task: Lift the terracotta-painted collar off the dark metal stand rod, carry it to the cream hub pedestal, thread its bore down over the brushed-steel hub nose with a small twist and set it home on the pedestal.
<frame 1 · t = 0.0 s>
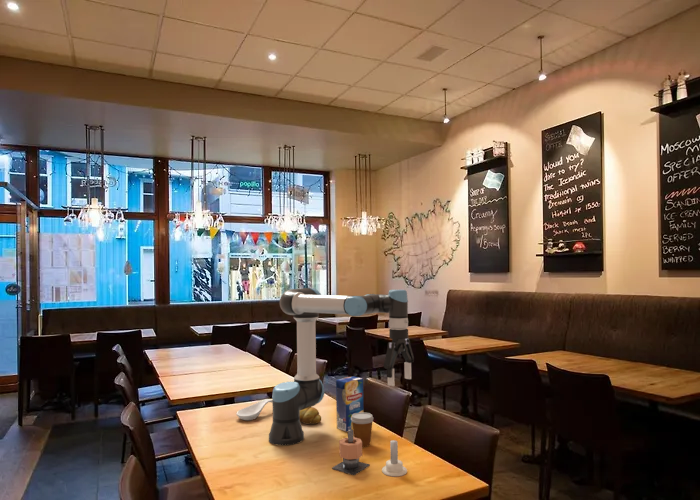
hand: (399, 382, 186), 28 cm above the table, fingers open, 13 cm apart
beverage box: (350, 427, 217), on the table
disposable coffee cup: (362, 445, 195), on the table
hub: (394, 471, 169), on the table
stand: (351, 467, 173), on the table
bread roll: (308, 422, 225), on the table
spoon rest: (258, 416, 236), on the table
collar: (350, 454, 173), point 4 cm above the table, touching stand
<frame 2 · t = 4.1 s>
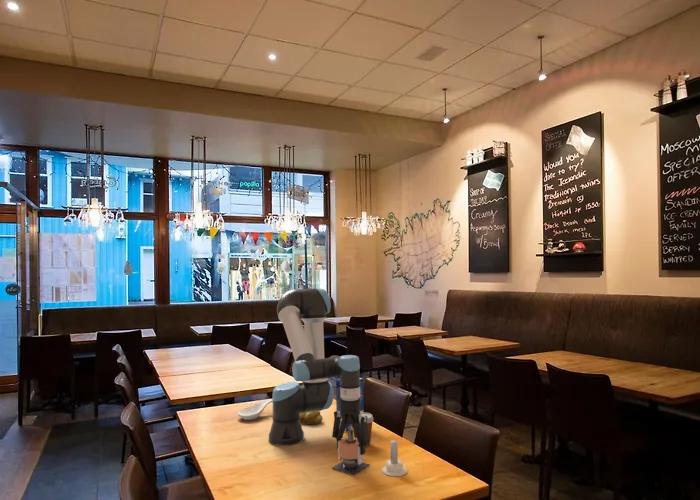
hand: (350, 460, 173), 3 cm above the table, fingers closed on collar, 8 cm apart
collar: (350, 454, 173), point 5 cm above the table, touching gripper, stand
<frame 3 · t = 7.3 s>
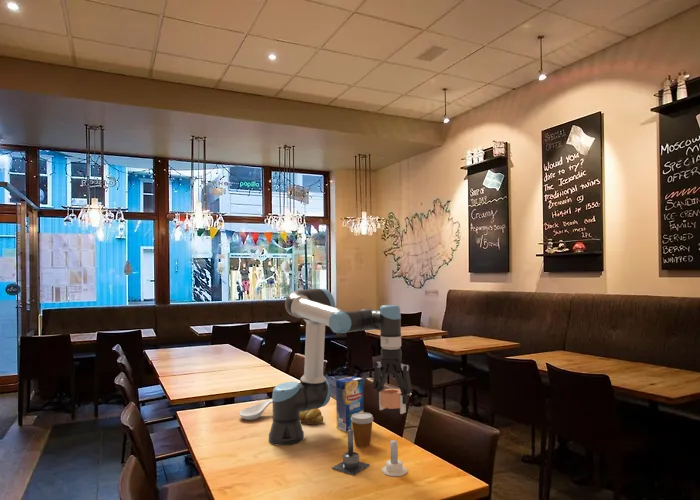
hand: (392, 410, 170), 22 cm above the table, fingers closed on collar, 8 cm apart
collar: (392, 405, 170), point 24 cm above the table, touching gripper
when the fingers open (3 cm above the table, at t = 10.7 s): collar drops 1 cm, resting on hub.
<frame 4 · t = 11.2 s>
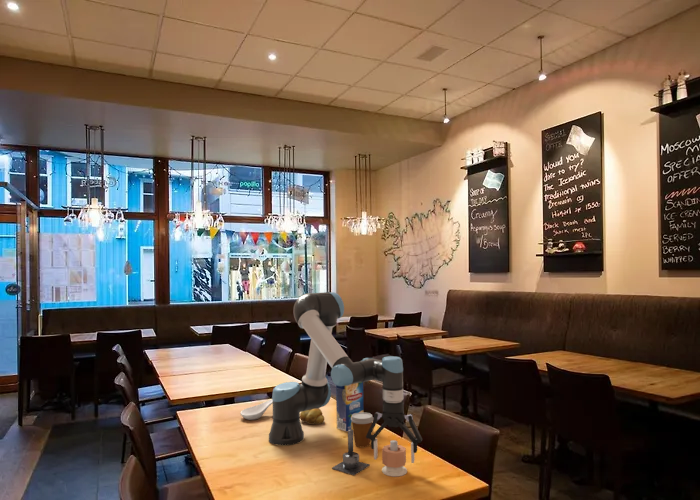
hand: (394, 459, 169), 4 cm above the table, fingers open, 13 cm apart
collar: (394, 462, 169), point 3 cm above the table, touching hub
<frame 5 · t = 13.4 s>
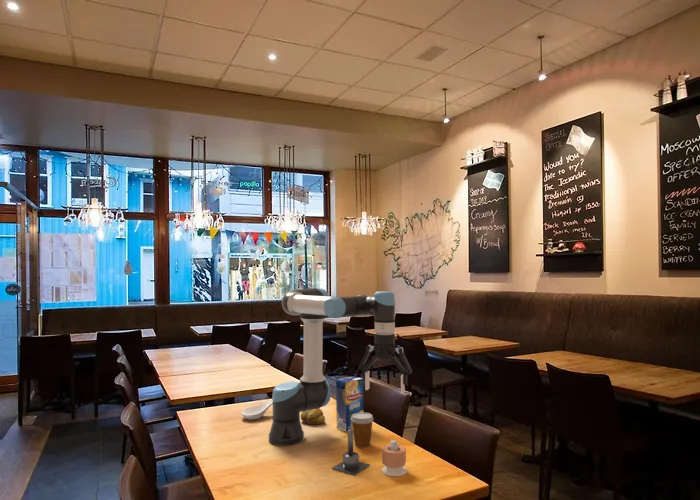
hand: (384, 391, 172), 28 cm above the table, fingers open, 13 cm apart
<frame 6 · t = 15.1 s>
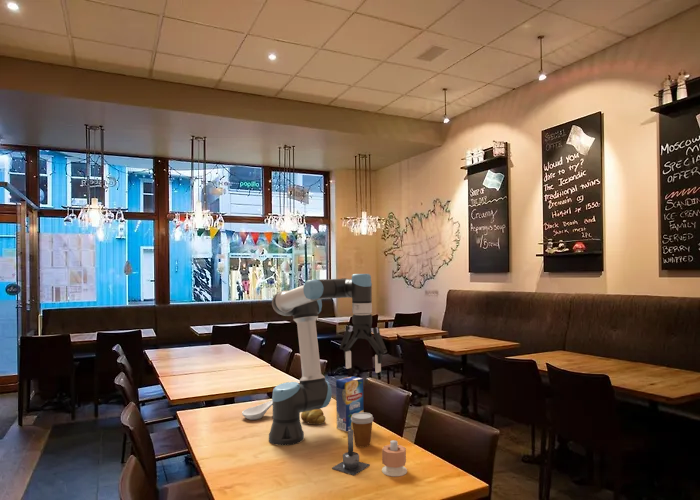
hand: (363, 370, 178), 35 cm above the table, fingers open, 13 cm apart
at the end: collar 0.0 cm off-centre on the hub, point 3.0 cm above the hub's base; collar tilted 0°; the gripper is holding nothing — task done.
